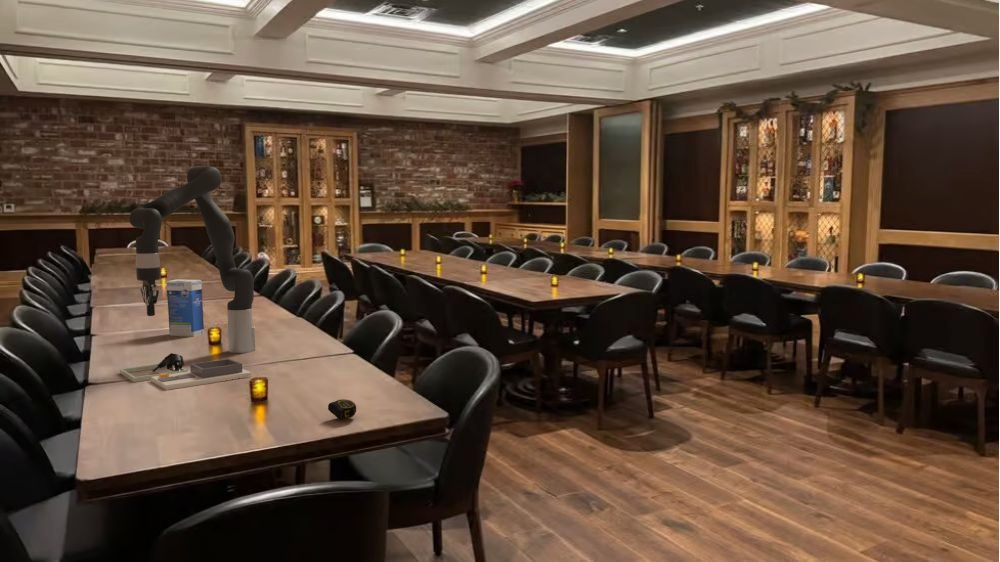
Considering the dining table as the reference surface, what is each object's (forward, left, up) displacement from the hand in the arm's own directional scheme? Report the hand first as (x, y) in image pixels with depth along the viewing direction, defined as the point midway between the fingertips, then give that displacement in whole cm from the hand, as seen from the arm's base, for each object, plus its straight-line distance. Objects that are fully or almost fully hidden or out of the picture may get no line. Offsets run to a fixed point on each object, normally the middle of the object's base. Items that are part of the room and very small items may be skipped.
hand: (150, 315), depth 256 cm
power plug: (0, -1, -22) cm, 22 cm away
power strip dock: (-10, +19, -21) cm, 30 cm away
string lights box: (-33, -67, -21) cm, 78 cm away
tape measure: (-21, +90, -21) cm, 95 cm away
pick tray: (0, 0, -21) cm, 21 cm away
